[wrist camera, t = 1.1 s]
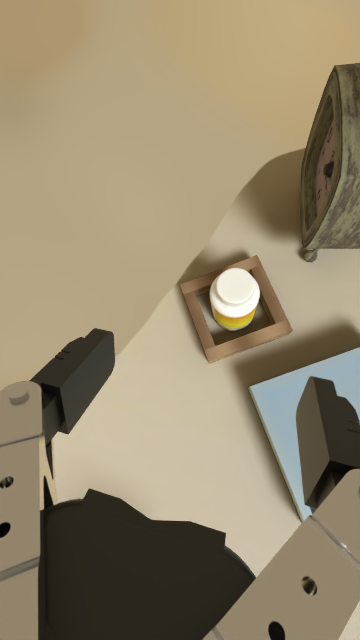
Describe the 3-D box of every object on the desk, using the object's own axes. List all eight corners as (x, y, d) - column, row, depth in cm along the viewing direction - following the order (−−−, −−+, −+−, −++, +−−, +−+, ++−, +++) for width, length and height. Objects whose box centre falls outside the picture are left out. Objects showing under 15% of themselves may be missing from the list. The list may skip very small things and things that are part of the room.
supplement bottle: (260, 323, 39) (271, 300, 29) (220, 337, 40) (218, 318, 30) (245, 287, 41) (251, 253, 31) (207, 300, 41) (201, 271, 31)
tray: (369, 343, 36) (385, 337, 33) (443, 479, 32) (472, 490, 28) (247, 387, 37) (250, 386, 34) (302, 524, 33) (312, 542, 29)
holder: (255, 263, 41) (257, 255, 39) (288, 334, 38) (292, 330, 36) (182, 291, 42) (179, 284, 40) (209, 363, 39) (208, 361, 36)
